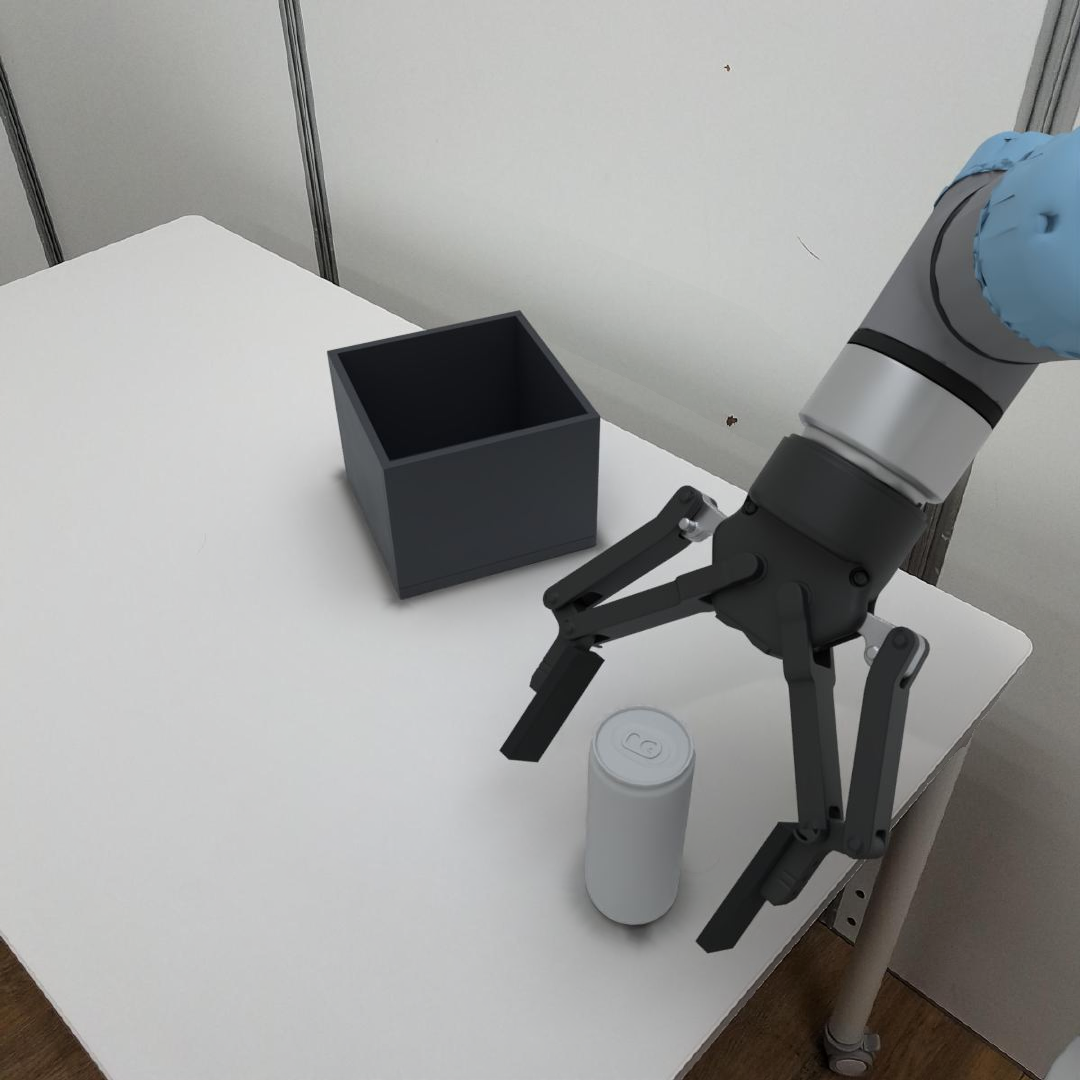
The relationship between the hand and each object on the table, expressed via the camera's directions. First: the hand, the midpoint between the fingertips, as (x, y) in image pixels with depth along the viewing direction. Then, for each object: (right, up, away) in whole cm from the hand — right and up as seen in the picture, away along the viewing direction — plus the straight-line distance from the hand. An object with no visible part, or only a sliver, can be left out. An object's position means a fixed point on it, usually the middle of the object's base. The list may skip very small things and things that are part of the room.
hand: (608, 844), depth 53 cm
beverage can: (+1, -4, +5) cm, 6 cm away
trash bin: (-9, +17, +27) cm, 33 cm away
